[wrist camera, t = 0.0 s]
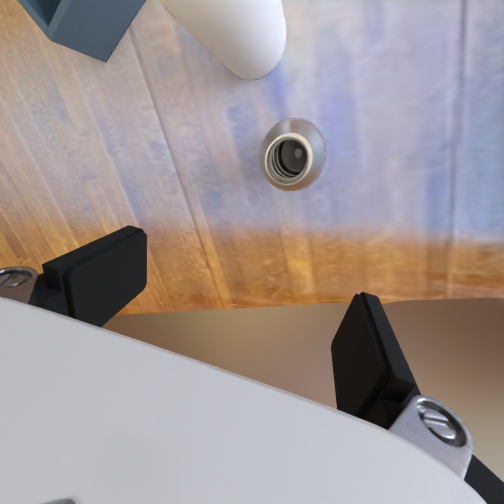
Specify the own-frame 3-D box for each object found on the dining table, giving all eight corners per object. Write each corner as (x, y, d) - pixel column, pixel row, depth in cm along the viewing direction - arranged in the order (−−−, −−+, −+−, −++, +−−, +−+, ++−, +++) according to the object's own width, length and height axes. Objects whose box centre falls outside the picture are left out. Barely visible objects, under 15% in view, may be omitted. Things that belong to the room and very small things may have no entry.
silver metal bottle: (275, 174, 38) (245, 201, 20) (278, 127, 36) (247, 110, 18) (317, 177, 37) (323, 208, 19) (324, 128, 34) (339, 111, 17)
